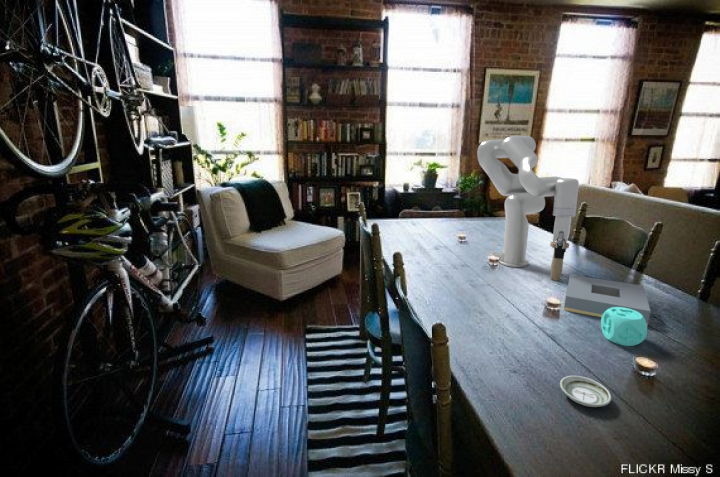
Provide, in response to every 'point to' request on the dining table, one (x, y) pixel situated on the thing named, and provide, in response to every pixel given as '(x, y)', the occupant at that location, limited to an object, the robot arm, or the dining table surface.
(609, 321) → the decorative dice
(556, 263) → the handle
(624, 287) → the socket block
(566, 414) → the dining table surface
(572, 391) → the saucer
